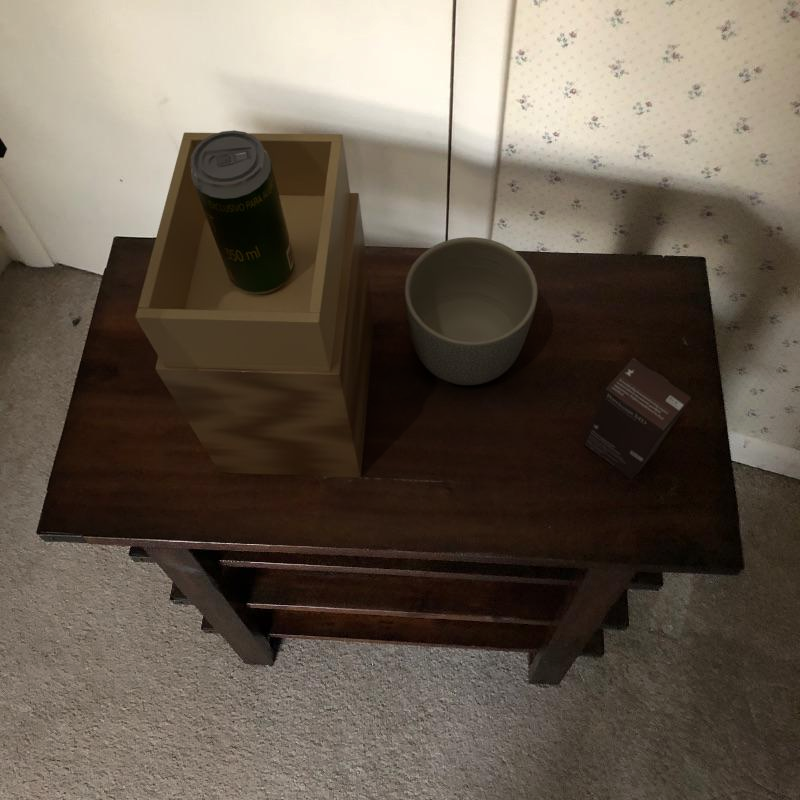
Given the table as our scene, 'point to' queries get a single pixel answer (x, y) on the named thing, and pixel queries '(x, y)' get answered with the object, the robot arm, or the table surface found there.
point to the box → (634, 418)
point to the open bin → (229, 305)
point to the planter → (469, 308)
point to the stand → (291, 394)
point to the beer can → (243, 210)
